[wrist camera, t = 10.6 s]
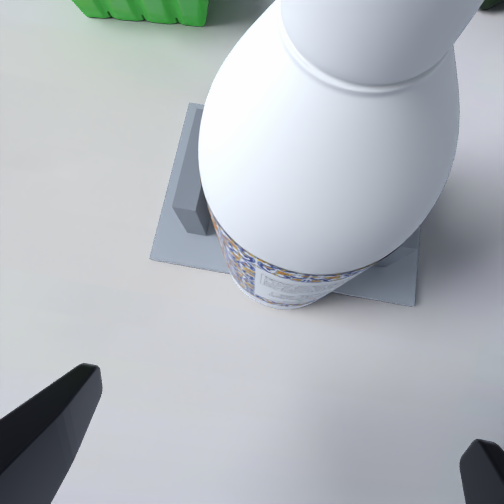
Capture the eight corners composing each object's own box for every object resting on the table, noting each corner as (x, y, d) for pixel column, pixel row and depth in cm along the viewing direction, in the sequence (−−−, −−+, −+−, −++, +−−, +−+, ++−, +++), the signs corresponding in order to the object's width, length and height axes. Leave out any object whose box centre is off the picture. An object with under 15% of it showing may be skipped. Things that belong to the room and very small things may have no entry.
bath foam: (251, 184, 23) (247, -648, 4) (355, 222, 22) (1010, -538, 3) (208, 284, 22) (-194, -237, 2) (318, 328, 21) (1168, 158, 2)
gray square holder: (411, 306, 22) (455, 297, 17) (151, 259, 22) (124, 238, 18) (423, 143, 24) (464, 96, 20) (190, 106, 25) (175, 52, 20)
